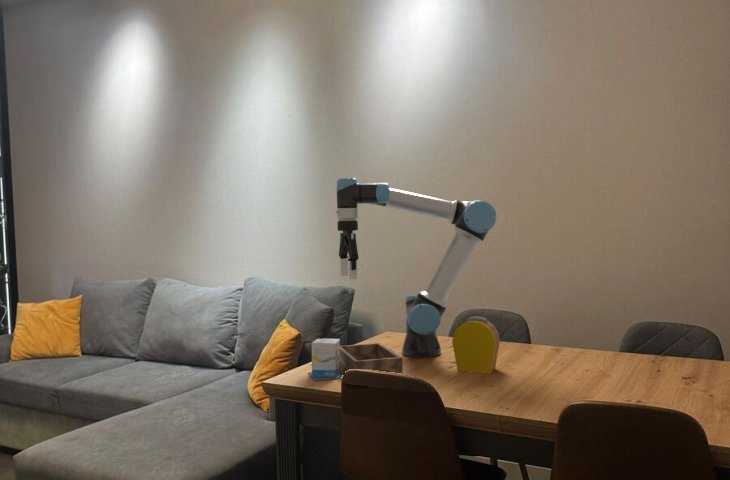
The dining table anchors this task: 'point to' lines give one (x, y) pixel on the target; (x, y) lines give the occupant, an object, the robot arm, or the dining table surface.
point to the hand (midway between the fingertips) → (348, 277)
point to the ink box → (325, 357)
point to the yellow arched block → (476, 345)
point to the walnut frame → (370, 358)
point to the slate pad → (325, 377)
